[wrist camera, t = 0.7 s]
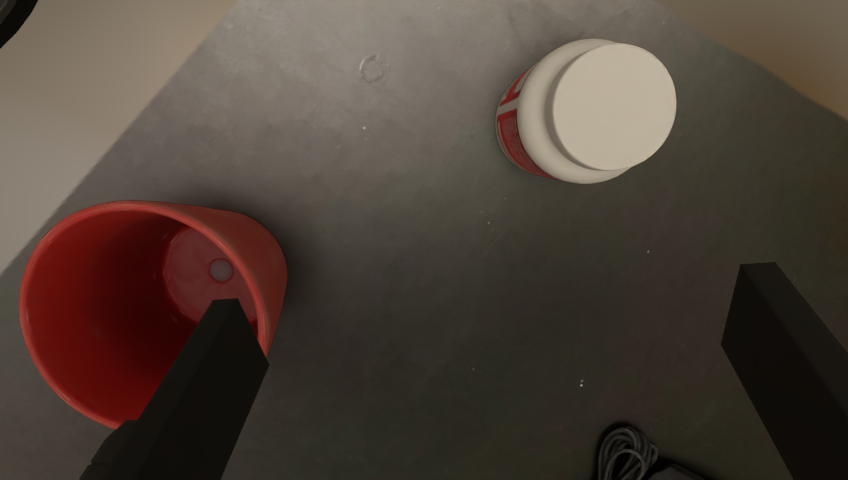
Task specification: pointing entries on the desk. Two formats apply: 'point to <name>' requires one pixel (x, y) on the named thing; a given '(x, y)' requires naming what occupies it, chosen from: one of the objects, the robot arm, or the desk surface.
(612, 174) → the pill bottle
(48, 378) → the flower pot
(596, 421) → the desk surface
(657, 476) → the computer mouse
